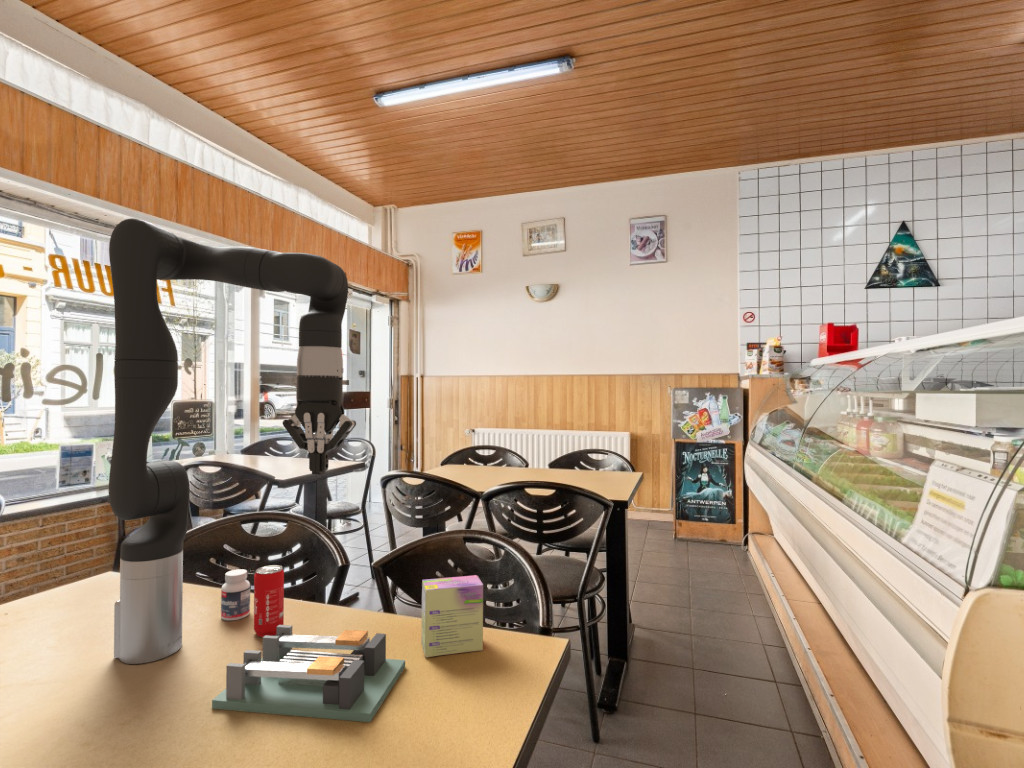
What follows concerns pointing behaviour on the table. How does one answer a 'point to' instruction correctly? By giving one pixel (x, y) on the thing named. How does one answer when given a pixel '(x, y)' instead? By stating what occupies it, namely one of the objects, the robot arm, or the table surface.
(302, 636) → the lever far
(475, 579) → the box
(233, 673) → the socket board
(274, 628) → the beverage can
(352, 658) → the heatsink block
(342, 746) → the table surface
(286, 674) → the lever near
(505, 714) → the table surface
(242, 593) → the pill bottle
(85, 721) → the table surface
